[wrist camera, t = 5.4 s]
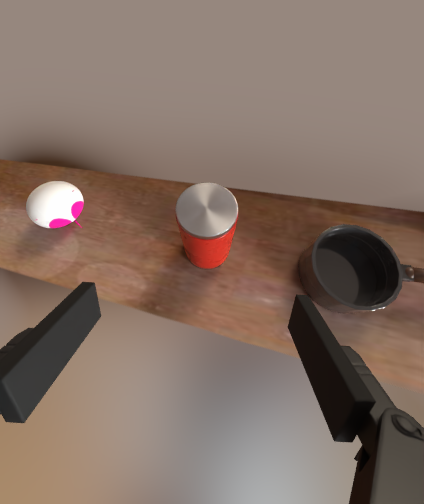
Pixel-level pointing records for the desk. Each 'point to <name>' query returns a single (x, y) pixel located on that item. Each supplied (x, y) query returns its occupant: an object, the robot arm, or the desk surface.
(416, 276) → the skillet handle
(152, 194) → the desk surface
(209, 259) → the tomato can
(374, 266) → the skillet
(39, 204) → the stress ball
